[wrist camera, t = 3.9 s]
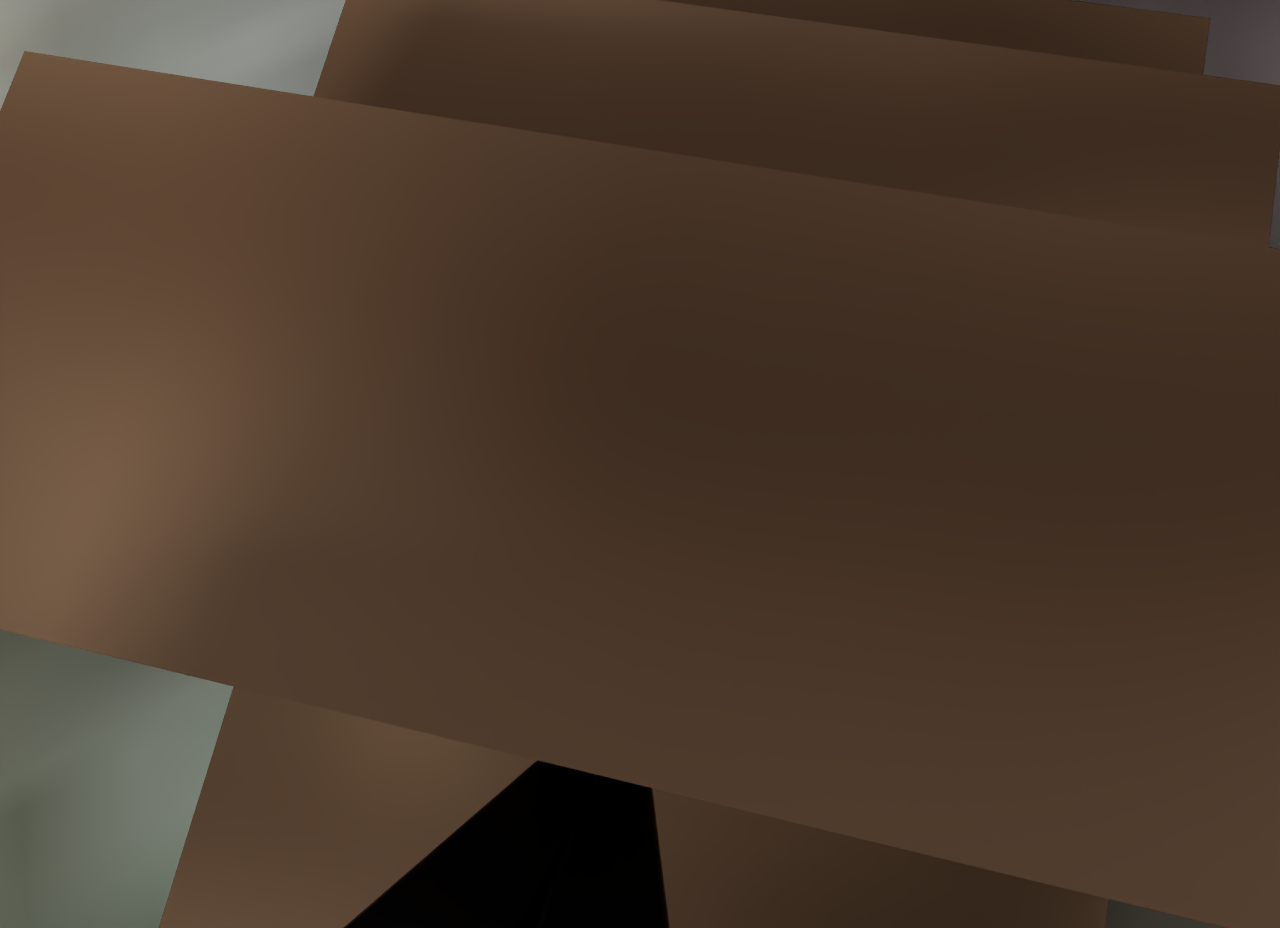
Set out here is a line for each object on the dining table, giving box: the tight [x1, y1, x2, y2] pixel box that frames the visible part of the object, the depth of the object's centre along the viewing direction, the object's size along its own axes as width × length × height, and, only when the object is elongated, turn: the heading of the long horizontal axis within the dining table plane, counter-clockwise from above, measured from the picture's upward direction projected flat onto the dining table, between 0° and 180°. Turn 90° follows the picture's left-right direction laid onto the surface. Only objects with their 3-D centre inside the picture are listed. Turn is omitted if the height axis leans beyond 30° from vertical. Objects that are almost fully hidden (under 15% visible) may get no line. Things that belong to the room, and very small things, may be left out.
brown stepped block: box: [0, 0, 1280, 928], centre depth 12 cm, size 16×10×9 cm, turn 167°
